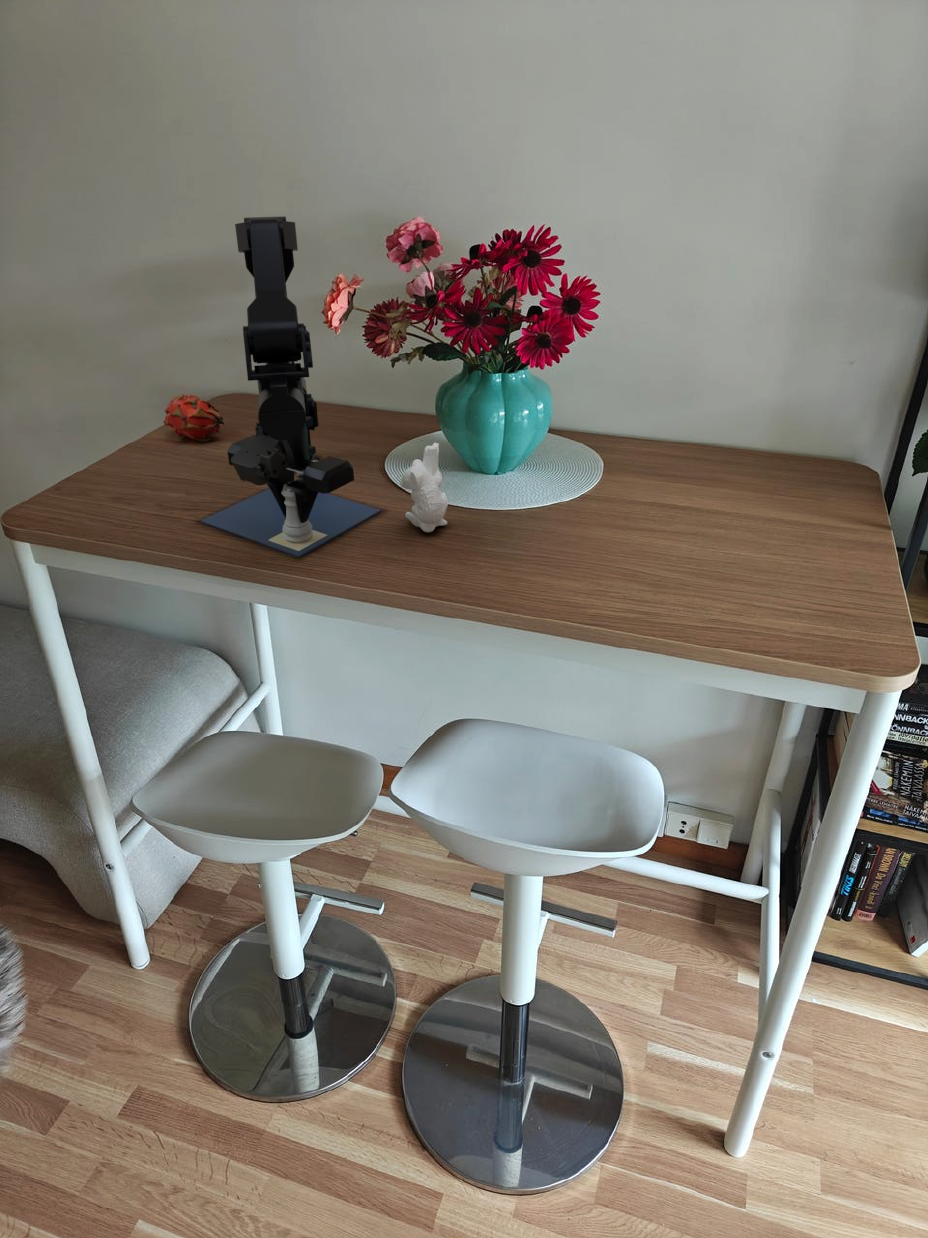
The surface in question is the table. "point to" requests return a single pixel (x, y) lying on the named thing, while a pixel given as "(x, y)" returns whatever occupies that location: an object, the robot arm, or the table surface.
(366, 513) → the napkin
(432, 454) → the white bunny statuette
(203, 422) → the dragon fruit
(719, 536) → the table surface
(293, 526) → the rook chess piece
